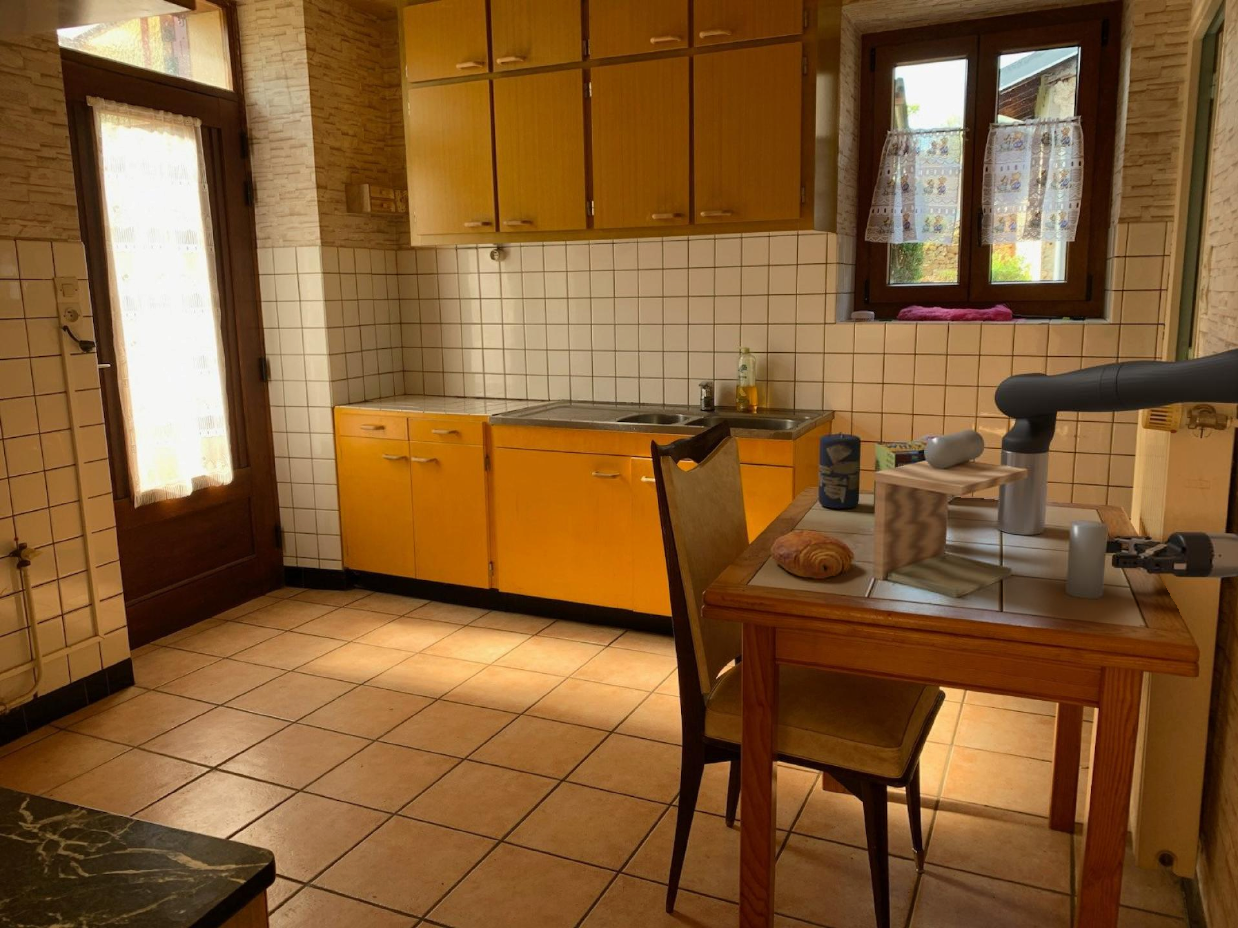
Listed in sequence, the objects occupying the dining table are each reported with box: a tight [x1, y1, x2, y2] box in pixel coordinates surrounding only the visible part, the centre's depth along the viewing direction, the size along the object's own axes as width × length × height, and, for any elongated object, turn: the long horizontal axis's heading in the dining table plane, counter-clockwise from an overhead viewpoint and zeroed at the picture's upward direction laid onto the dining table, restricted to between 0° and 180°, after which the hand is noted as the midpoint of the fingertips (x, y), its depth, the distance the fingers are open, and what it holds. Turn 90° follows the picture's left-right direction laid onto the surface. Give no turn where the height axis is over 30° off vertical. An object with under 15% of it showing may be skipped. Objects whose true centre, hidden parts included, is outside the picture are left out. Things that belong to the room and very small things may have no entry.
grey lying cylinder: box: [924, 429, 985, 469], centre depth 171 cm, size 6×6×12 cm
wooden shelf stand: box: [872, 460, 1027, 598], centre depth 168 cm, size 21×17×20 cm
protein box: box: [873, 442, 925, 508], centre depth 214 cm, size 10×15×16 cm
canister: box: [817, 431, 862, 509], centre depth 222 cm, size 10×10×18 cm
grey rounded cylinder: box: [1065, 519, 1109, 599], centre depth 158 cm, size 6×6×12 cm
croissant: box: [770, 529, 855, 580], centre depth 176 cm, size 14×16×8 cm
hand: (1102, 553), depth 158 cm, fingers open, 8 cm apart
